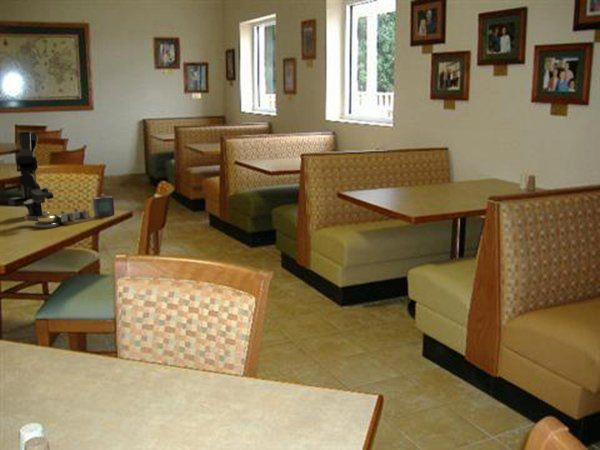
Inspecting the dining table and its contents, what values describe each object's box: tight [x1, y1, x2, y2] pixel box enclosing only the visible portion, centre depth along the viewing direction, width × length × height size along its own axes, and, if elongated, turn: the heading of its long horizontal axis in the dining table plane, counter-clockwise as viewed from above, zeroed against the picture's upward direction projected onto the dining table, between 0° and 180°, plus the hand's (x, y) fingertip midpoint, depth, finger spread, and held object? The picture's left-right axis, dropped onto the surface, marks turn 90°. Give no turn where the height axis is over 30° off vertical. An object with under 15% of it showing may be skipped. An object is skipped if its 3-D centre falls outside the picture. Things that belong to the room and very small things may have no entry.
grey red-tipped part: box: [24, 214, 55, 224], centre depth 272 cm, size 15×7×3 cm, turn 70°
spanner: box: [53, 209, 90, 222], centre depth 279 cm, size 5×16×3 cm, turn 147°
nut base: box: [34, 211, 60, 230], centre depth 270 cm, size 10×10×6 cm
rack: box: [59, 207, 95, 226], centre depth 280 cm, size 9×14×5 cm, turn 147°
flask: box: [92, 193, 115, 218], centre depth 290 cm, size 9×3×11 cm, turn 115°
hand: (33, 217), depth 275 cm, fingers closed
